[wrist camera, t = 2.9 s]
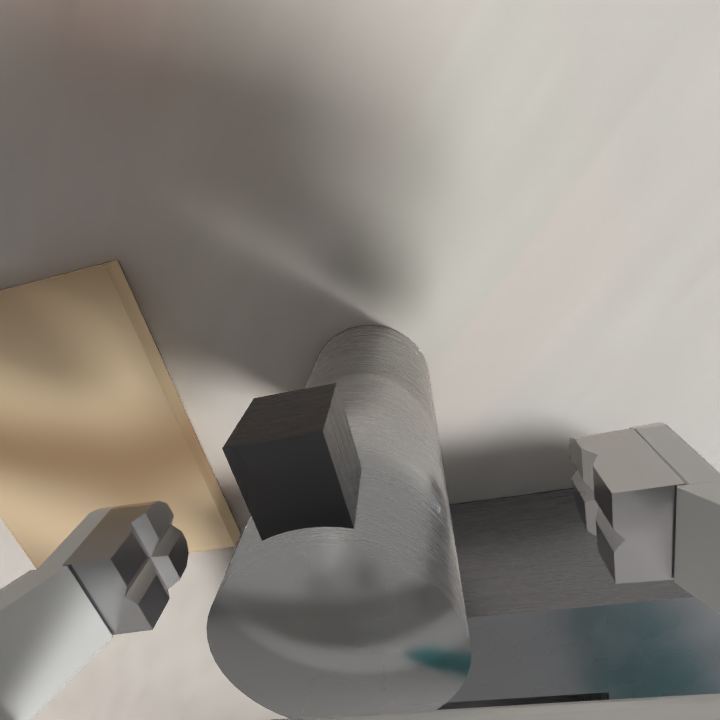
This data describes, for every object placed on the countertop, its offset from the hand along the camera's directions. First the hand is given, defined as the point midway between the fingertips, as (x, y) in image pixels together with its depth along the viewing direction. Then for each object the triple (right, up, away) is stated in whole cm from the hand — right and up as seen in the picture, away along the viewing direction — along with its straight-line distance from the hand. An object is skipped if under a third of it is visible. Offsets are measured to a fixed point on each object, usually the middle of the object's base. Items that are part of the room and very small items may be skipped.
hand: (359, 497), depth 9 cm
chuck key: (0, +2, +4) cm, 5 cm away
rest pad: (-9, 0, +6) cm, 11 cm away
